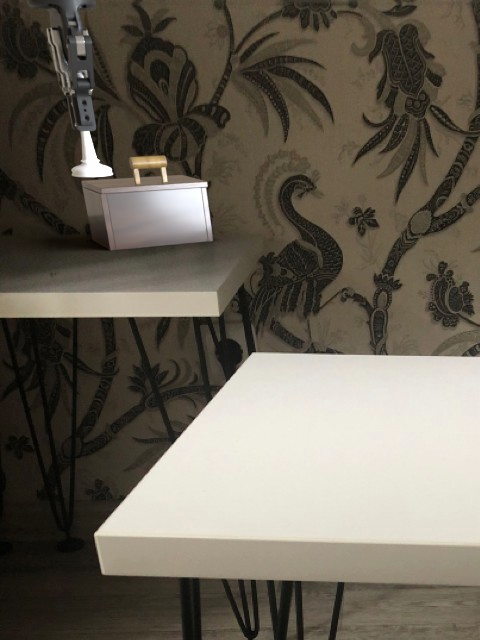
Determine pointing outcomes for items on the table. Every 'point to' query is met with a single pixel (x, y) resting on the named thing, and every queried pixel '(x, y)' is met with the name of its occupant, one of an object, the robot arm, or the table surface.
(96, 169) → the chess piece
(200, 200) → the chess box
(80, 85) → the robot arm
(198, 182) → the chess box lid
